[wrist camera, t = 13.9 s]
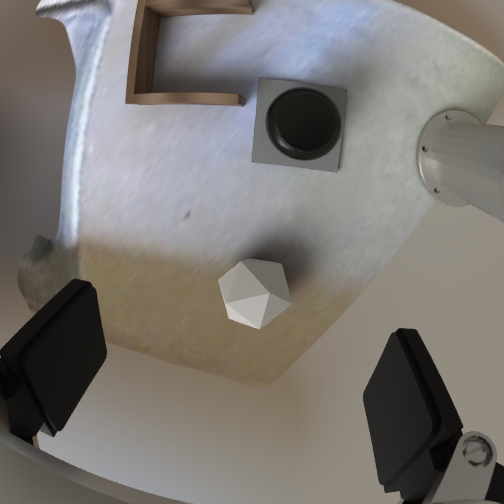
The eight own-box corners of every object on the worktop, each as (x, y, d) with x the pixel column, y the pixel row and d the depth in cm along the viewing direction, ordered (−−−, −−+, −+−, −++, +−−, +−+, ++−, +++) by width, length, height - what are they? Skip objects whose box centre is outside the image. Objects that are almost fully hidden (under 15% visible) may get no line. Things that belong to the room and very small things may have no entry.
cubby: (253, 7, 28) (249, -8, 23) (243, 106, 33) (237, 103, 29) (154, 11, 29) (138, 0, 24) (143, 104, 34) (125, 103, 29)
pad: (345, 90, 31) (347, 89, 31) (336, 172, 35) (337, 172, 35) (259, 78, 32) (259, 78, 31) (251, 161, 36) (251, 162, 35)
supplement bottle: (335, 105, 31) (361, 96, 21) (320, 160, 34) (338, 178, 23) (276, 88, 31) (274, 71, 20) (262, 144, 34) (253, 154, 23)
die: (212, 272, 43) (217, 340, 38) (227, 236, 36) (235, 316, 31) (268, 275, 45) (278, 339, 40) (292, 241, 38) (307, 315, 33)
